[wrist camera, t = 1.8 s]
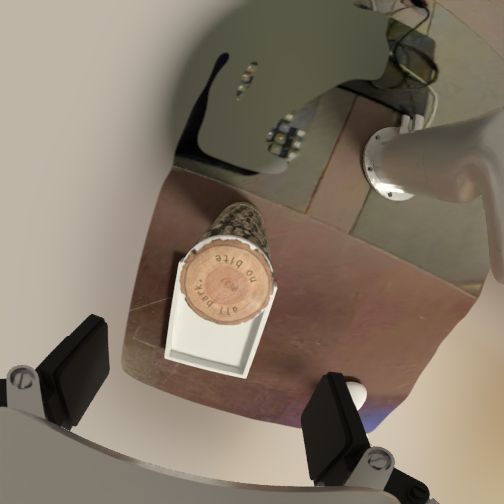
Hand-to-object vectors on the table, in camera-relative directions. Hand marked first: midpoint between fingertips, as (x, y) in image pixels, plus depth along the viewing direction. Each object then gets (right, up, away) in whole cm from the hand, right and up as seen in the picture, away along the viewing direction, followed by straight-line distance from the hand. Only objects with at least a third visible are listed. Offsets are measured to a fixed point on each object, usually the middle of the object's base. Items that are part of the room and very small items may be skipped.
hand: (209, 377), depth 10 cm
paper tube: (0, +10, +33) cm, 35 cm away
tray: (-5, -7, +38) cm, 39 cm away
